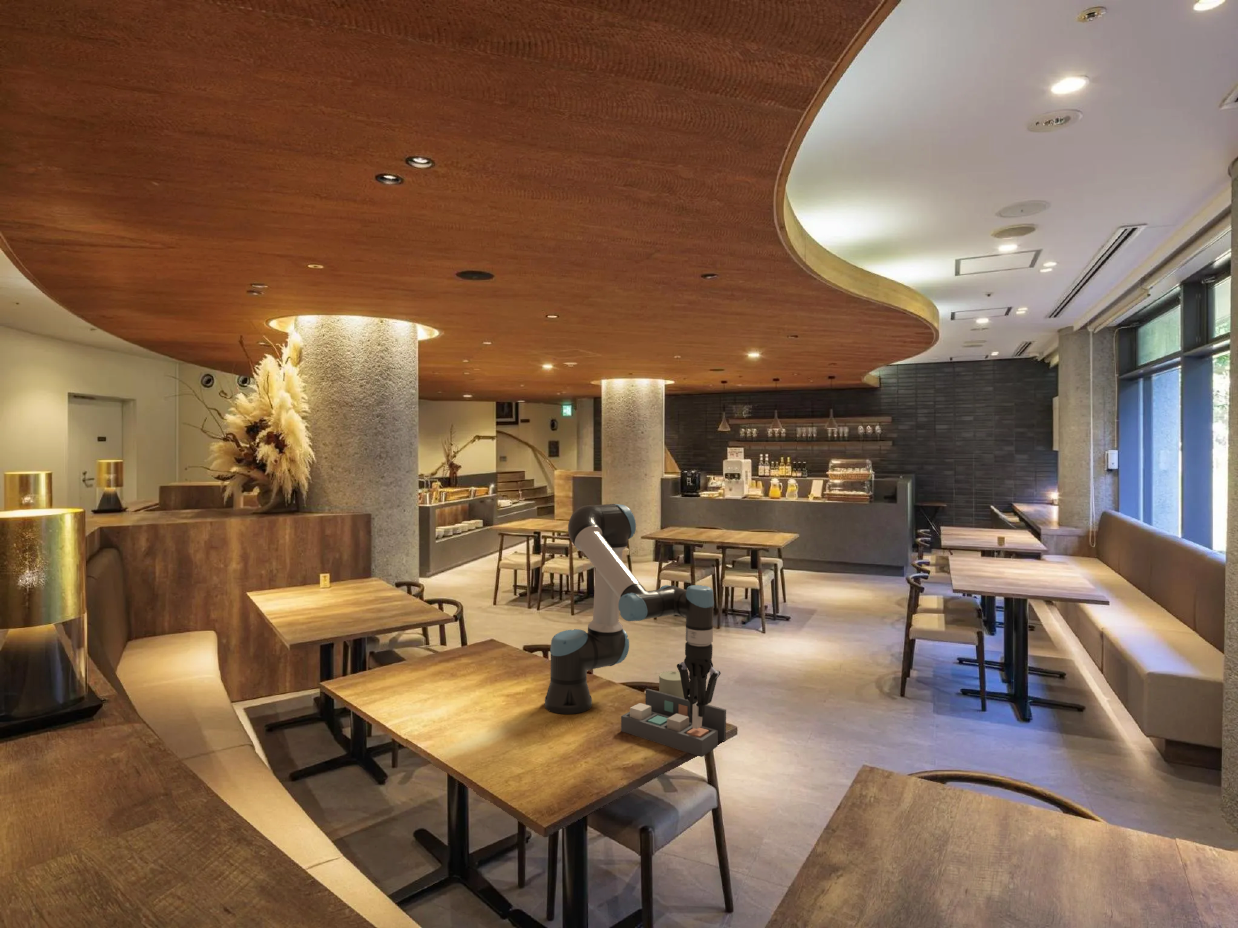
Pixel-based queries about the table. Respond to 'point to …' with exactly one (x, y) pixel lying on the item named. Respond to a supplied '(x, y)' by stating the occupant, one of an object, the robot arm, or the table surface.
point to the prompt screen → (686, 710)
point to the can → (671, 683)
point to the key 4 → (698, 732)
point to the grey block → (678, 722)
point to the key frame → (670, 735)
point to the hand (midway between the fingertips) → (697, 726)
